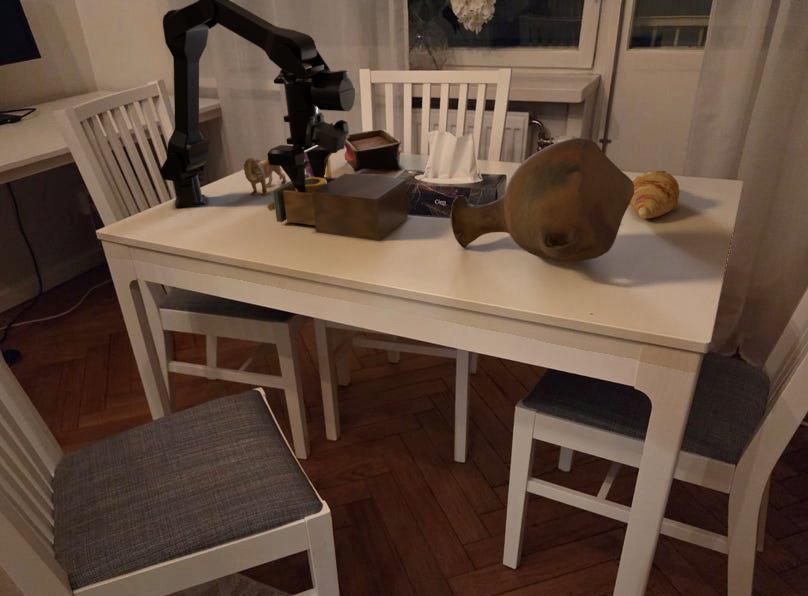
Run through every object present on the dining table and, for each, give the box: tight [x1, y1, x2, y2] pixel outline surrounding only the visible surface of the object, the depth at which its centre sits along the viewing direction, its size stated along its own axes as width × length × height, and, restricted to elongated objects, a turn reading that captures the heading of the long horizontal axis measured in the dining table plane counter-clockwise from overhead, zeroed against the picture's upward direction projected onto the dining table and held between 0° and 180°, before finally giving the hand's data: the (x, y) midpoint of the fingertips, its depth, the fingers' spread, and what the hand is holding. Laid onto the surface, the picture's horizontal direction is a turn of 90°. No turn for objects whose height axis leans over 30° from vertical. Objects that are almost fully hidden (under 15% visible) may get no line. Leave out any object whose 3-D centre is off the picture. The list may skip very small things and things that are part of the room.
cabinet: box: [312, 173, 408, 241], centre depth 124 cm, size 14×13×8 cm
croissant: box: [629, 170, 680, 220], centre depth 126 cm, size 21×10×8 cm, turn 156°
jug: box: [449, 137, 634, 263], centre depth 105 cm, size 20×20×30 cm
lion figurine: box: [243, 156, 287, 196], centre depth 147 cm, size 15×5×9 cm, turn 162°
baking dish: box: [343, 128, 402, 173], centre depth 161 cm, size 14×18×10 cm
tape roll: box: [296, 177, 327, 193], centre depth 128 cm, size 6×6×5 cm
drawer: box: [267, 173, 337, 226], centre depth 129 cm, size 17×12×6 cm
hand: (311, 190), depth 128 cm, fingers closed on tape roll, 6 cm apart
